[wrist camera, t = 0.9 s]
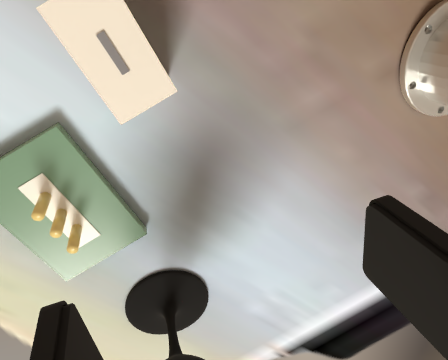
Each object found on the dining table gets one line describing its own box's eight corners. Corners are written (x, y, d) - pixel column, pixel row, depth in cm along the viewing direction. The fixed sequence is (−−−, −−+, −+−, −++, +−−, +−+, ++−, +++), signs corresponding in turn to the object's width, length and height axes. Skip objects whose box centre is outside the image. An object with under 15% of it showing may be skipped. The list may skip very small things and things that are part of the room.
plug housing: (107, -27, 27) (104, -34, 22) (168, 76, 32) (177, 91, 26) (52, 6, 27) (35, 8, 22) (121, 104, 32) (121, 125, 26)
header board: (58, 122, 31) (48, 140, 27) (146, 227, 38) (149, 254, 34) (-38, 179, 31) (-62, 206, 27) (67, 274, 38) (61, 306, 34)
